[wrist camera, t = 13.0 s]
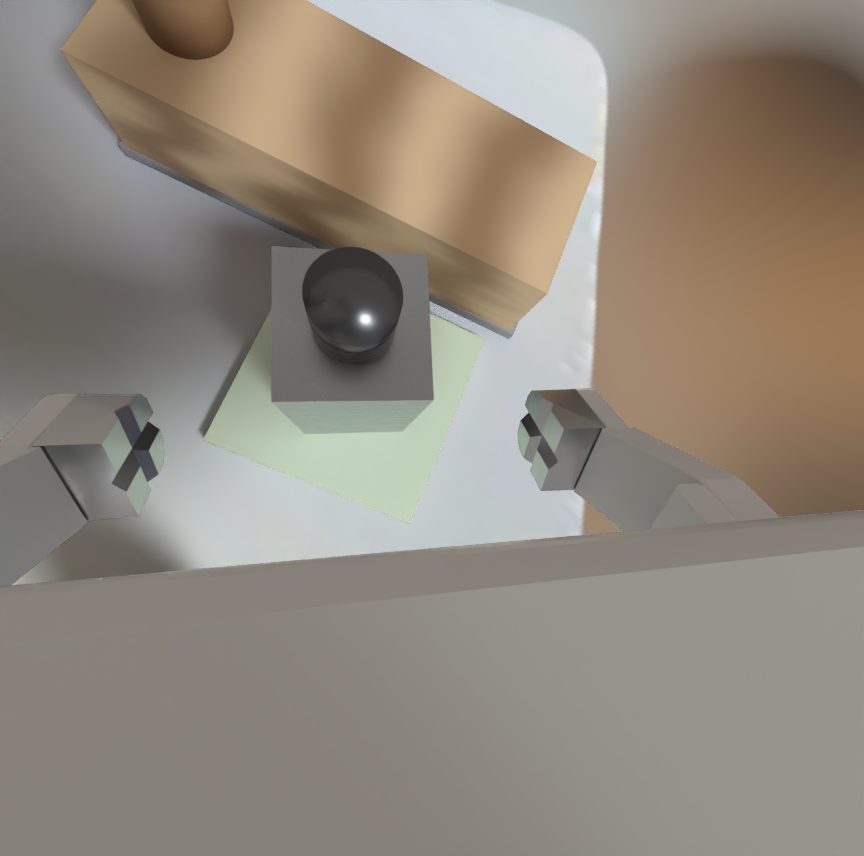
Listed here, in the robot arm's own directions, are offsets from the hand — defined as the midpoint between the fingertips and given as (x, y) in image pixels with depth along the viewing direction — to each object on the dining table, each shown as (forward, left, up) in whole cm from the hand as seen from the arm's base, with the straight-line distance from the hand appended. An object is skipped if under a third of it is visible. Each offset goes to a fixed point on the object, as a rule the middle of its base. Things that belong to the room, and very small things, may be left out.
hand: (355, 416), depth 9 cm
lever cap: (-1, +3, -10) cm, 11 cm away
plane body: (-5, +12, -11) cm, 17 cm away
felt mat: (-1, +3, -11) cm, 11 cm away
